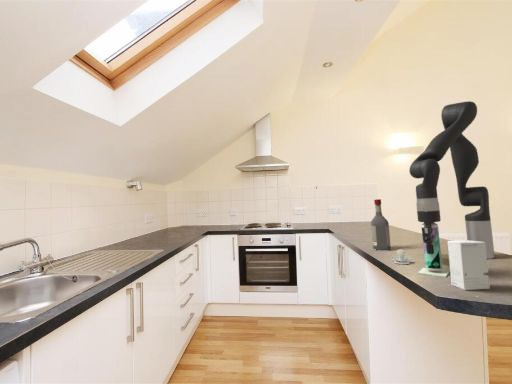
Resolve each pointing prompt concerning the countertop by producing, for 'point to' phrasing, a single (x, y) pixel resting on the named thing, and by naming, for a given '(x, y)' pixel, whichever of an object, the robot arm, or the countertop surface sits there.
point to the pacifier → (401, 258)
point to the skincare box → (468, 264)
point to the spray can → (434, 259)
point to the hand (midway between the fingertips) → (432, 252)
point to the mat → (434, 272)
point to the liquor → (380, 229)
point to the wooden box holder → (445, 261)
